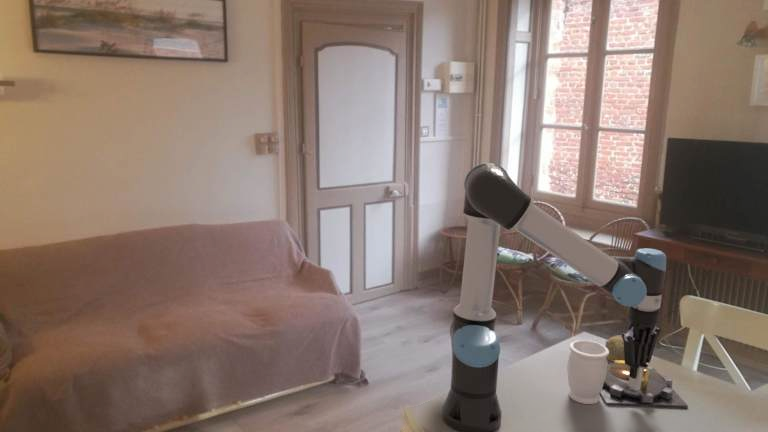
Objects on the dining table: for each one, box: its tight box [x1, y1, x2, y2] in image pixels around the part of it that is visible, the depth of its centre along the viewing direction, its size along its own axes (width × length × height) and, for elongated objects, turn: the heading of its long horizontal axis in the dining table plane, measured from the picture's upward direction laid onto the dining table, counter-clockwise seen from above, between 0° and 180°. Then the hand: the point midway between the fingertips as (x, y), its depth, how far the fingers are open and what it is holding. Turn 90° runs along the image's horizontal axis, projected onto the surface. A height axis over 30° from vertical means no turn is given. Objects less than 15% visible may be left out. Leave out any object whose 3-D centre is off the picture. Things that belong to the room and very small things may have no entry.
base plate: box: [599, 367, 689, 409], centre depth 173 cm, size 22×22×1 cm
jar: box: [566, 339, 609, 405], centre depth 165 cm, size 11×10×15 cm
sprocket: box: [603, 360, 674, 403], centre depth 172 cm, size 22×22×8 cm
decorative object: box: [604, 334, 625, 363], centre depth 190 cm, size 9×10×10 cm
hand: (634, 387), depth 163 cm, fingers closed
